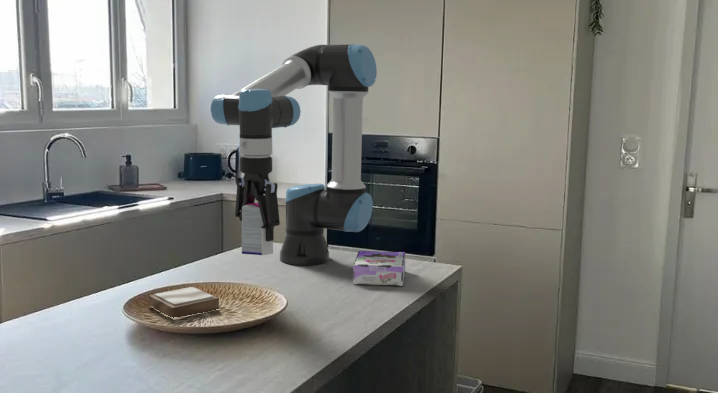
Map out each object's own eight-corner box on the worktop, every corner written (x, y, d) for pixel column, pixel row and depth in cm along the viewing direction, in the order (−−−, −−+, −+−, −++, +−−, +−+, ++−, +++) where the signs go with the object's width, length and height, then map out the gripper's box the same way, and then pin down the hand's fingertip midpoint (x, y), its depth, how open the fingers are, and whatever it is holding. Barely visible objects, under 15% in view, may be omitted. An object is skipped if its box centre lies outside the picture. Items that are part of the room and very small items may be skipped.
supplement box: (265, 255, 168) (264, 207, 166) (241, 254, 169) (240, 206, 167) (272, 249, 174) (272, 203, 172) (249, 248, 175) (248, 202, 173)
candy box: (405, 251, 208) (404, 265, 192) (405, 271, 209) (403, 287, 193) (358, 249, 209) (352, 263, 193) (358, 269, 210) (352, 285, 194)
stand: (148, 307, 172) (148, 293, 171) (193, 298, 180) (193, 285, 179) (173, 320, 163) (172, 306, 162) (219, 310, 171) (218, 296, 170)
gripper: (218, 152, 172) (220, 244, 176) (268, 161, 157) (269, 262, 161) (245, 150, 177) (246, 240, 181) (295, 159, 162) (295, 256, 166)
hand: (257, 250), depth 171 cm, fingers closed on supplement box, 8 cm apart
